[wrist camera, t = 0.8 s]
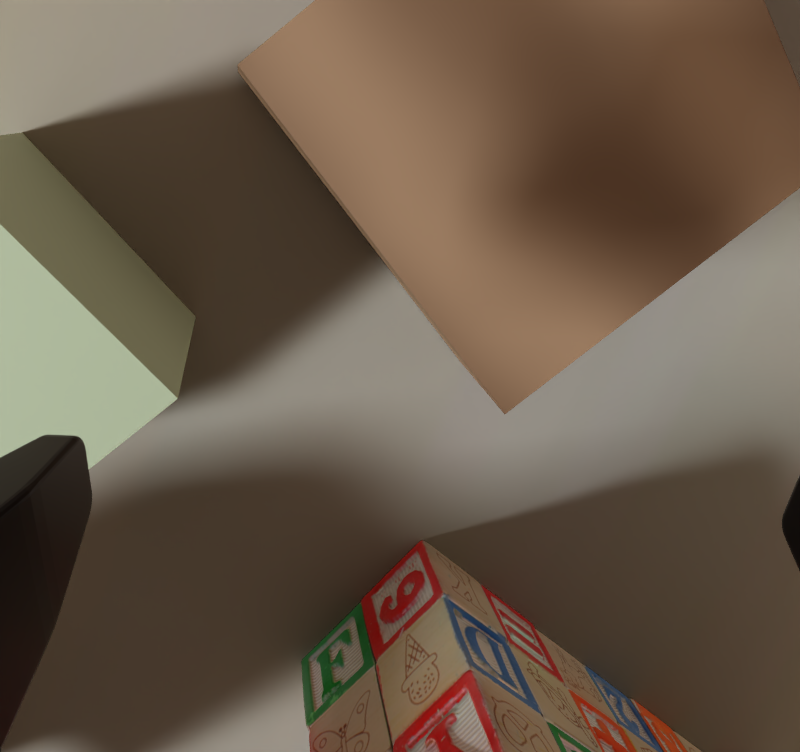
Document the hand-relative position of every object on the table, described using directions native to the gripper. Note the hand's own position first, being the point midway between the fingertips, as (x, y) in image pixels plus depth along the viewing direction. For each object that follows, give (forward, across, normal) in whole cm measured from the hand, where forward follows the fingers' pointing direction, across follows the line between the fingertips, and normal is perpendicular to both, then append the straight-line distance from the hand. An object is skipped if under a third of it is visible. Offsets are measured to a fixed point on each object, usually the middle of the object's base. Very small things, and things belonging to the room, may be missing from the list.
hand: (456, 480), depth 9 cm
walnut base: (+13, -3, -3) cm, 14 cm away
